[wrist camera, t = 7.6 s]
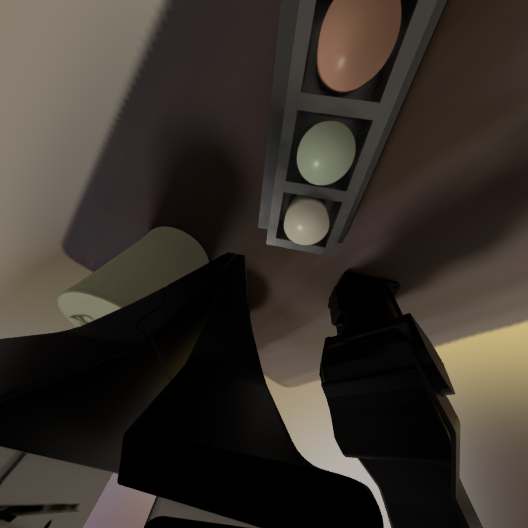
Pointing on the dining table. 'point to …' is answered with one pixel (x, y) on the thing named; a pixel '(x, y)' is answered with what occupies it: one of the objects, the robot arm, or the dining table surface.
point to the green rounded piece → (326, 152)
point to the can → (133, 275)
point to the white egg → (306, 220)
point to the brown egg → (355, 42)
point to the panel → (332, 115)
